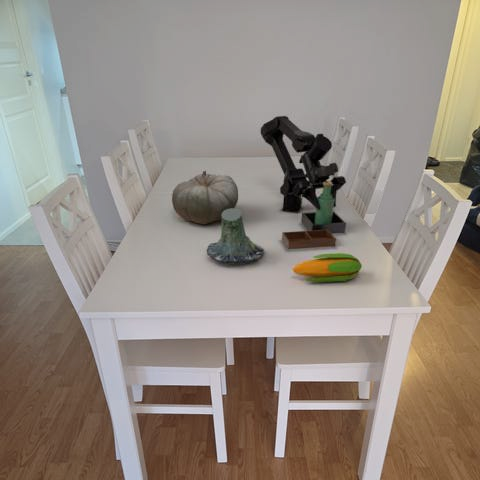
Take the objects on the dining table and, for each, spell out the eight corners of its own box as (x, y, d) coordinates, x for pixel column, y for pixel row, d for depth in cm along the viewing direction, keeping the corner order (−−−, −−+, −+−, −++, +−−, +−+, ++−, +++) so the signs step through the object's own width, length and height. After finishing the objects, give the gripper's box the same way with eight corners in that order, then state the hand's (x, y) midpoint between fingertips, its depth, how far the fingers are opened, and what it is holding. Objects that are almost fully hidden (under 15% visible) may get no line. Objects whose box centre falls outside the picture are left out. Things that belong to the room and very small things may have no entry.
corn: (368, 257, 124) (296, 261, 122) (364, 283, 128) (295, 287, 125) (358, 248, 130) (290, 251, 128) (355, 273, 134) (289, 276, 132)
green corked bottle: (314, 229, 160) (319, 184, 151) (313, 223, 165) (318, 179, 156) (331, 230, 159) (337, 185, 150) (330, 224, 164) (336, 180, 155)
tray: (301, 223, 166) (302, 212, 164) (332, 221, 168) (334, 211, 166) (311, 236, 156) (312, 225, 154) (344, 234, 158) (346, 223, 156)
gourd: (252, 205, 175) (245, 161, 164) (224, 237, 158) (214, 191, 147) (197, 202, 185) (187, 160, 174) (165, 232, 169) (152, 188, 158)
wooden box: (281, 240, 153) (282, 232, 151) (326, 238, 155) (327, 229, 153) (288, 250, 146) (288, 242, 144) (334, 247, 148) (336, 238, 147)
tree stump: (271, 247, 149) (273, 199, 136) (253, 286, 137) (253, 238, 123) (219, 237, 154) (216, 190, 140) (197, 274, 141) (191, 226, 128)
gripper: (299, 157, 148) (314, 200, 146) (346, 152, 155) (361, 193, 153) (286, 175, 159) (299, 215, 156) (331, 169, 165) (344, 208, 163)
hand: (326, 208), depth 157 cm, fingers closed on green corked bottle, 6 cm apart
